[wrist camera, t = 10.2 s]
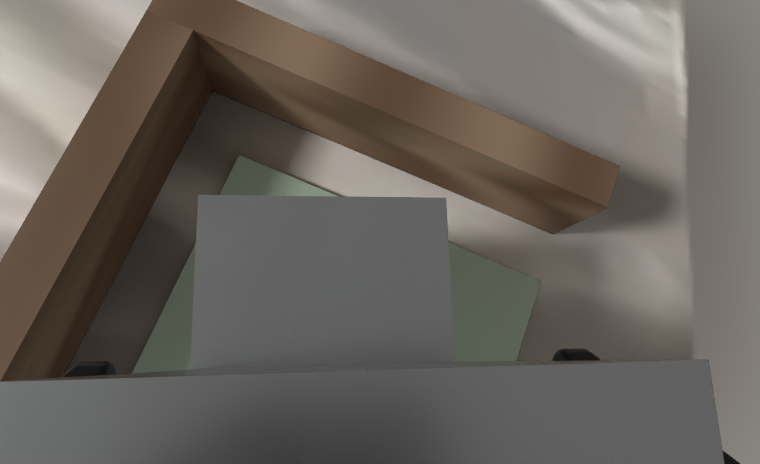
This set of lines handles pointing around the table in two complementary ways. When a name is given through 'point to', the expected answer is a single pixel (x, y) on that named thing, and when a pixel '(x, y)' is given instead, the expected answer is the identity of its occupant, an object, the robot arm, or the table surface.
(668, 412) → the gray block
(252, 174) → the mat
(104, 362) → the robot arm
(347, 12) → the table surface
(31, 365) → the brown wooden corner wall
